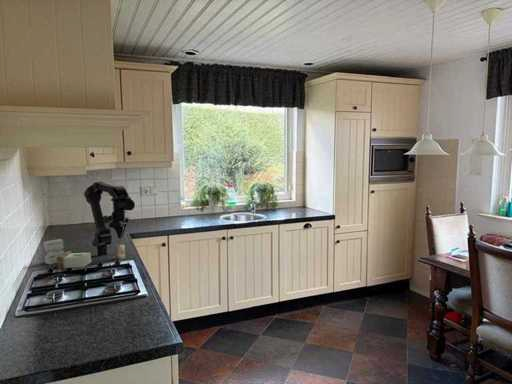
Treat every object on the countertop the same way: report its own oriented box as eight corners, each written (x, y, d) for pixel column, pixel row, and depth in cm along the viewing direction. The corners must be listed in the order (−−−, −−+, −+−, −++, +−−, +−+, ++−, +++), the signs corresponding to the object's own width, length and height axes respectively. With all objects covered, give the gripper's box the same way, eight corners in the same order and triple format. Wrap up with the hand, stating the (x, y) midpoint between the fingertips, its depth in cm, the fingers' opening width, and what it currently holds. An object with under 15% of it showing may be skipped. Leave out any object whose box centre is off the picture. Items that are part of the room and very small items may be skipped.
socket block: (71, 262, 200) (70, 253, 199) (91, 262, 200) (90, 252, 200) (63, 267, 190) (62, 258, 189) (84, 267, 190) (83, 257, 190)
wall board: (68, 264, 201) (67, 251, 201) (130, 261, 203) (130, 248, 203) (57, 271, 188) (56, 257, 188) (124, 268, 190) (123, 254, 190)
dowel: (119, 259, 210) (118, 245, 209) (126, 259, 210) (125, 244, 209) (117, 261, 206) (116, 246, 205) (124, 260, 206) (123, 246, 206)
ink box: (61, 259, 212) (59, 238, 211) (65, 261, 209) (63, 239, 208) (44, 263, 206) (42, 241, 205) (48, 264, 202) (46, 242, 202)
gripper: (109, 208, 215) (110, 235, 216) (97, 212, 196) (99, 242, 197) (129, 207, 215) (130, 234, 217) (119, 211, 197) (121, 241, 198)
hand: (120, 238), depth 207 cm, fingers open, 3 cm apart
